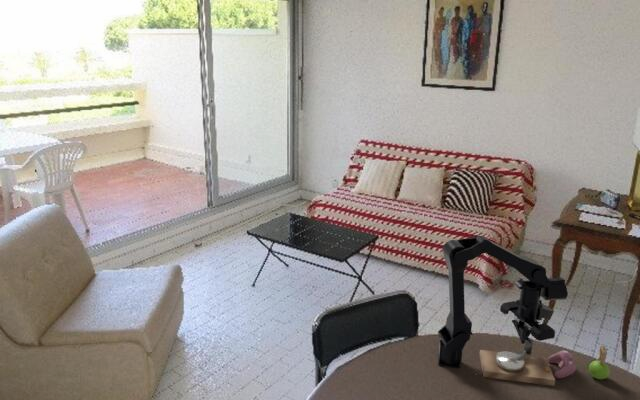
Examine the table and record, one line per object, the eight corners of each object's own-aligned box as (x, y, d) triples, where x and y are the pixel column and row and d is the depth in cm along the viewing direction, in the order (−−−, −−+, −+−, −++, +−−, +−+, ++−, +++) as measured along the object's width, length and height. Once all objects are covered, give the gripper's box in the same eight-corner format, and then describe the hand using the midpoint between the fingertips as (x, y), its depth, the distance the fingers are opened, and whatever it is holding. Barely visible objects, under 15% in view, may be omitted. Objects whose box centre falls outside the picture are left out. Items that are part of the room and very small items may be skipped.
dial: (511, 374, 149) (514, 356, 147) (490, 361, 155) (492, 343, 154) (540, 362, 155) (543, 344, 154) (518, 350, 162) (521, 332, 160)
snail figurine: (589, 382, 150) (595, 346, 147) (586, 370, 156) (593, 336, 153) (609, 386, 148) (616, 350, 145) (606, 374, 154) (613, 339, 151)
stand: (483, 376, 151) (484, 369, 151) (479, 355, 163) (480, 348, 162) (554, 386, 148) (555, 378, 147) (544, 363, 159) (545, 356, 158)
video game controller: (567, 384, 151) (581, 367, 149) (553, 377, 151) (568, 360, 149) (558, 366, 160) (572, 350, 158) (546, 359, 161) (559, 342, 158)
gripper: (573, 310, 149) (565, 355, 154) (530, 282, 166) (524, 323, 171) (542, 316, 146) (535, 362, 150) (501, 287, 163) (496, 329, 167)
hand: (523, 343), depth 160 cm, fingers closed
